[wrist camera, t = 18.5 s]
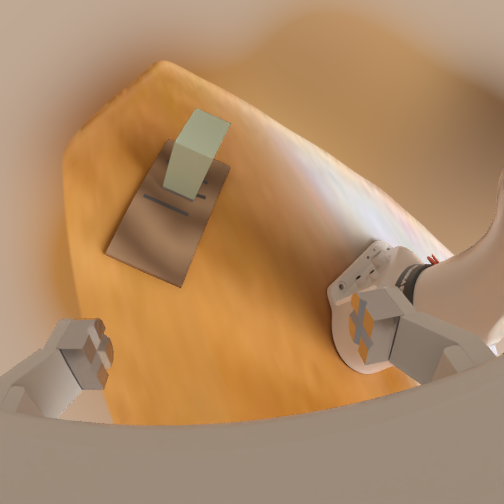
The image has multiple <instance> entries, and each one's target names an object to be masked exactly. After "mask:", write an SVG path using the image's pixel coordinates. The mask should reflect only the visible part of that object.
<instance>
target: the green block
mask: <svg viewBox="0 0 504 504" xmlns="http://www.w3.org/2000/svg"><path fill="white" fill-rule="evenodd" d="M230 125H231V123H229V122H227V121H224V120H222V119H220V118H218V117H216V116H213V115H211V114H209V113H207V112H204V111H202V110H200V109H197V108H196V109H195V111H194V112H193V114H192V115H191V117H190V118H189V120H188V122H187V123H186V125H185V126H184V128H183V129H182V131H181V133H180V134H179V136H178V137H177V139H176V141H175V143H174V146H173V150H172V153H171V157H170V160H169V164H168V168H167V172H166V175H165V179H164V183H163V187H162V189H165V190H167V191H169V192H171V193H174V194H176V195H178V196H180V197H183V198H185V199H187V200H189V201H192V202H193V201H194V199H195V197H196V195H197V193H198V190H199V188H200V186H201V184H202V182H203V180H204V178H205V176H206V174H207V171H208V169H209V167H210V165H211V163H212V161H213V159H214V157H215V155H216V153H217V151H218V149H219V147H220V145H221V143H222V140H223V138H224V136H225V134H226V132H227V130H228V128H229V127H230Z"/></svg>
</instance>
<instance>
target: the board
mask: <svg viewBox="0 0 504 504" xmlns="http://www.w3.org/2000/svg"><path fill="white" fill-rule="evenodd" d="M174 143H175V141H173V140H170V139H168V141H167V142H166V144H165V145H164V147H163V149H162V150H161V152H160V154H159V155H158V157H157V158H156V160H155V162H154V163H153V165H152V167H151V169H150V170H149V172H148V174H147V175H146V177H145V179H144V181H143V182H142V184H141V186H140V188H139V189H138V191H137V193H136V195H135V197H134V198H133V200H132V202H131V204H130V206H129V208H128V210H127V211H126V213H125V215H124V217H123V219H122V221H121V223H120V225H119V227H118V229H117V231H116V233H115V235H114V237H113V239H112V241H111V243H110V245H109V247H108V249H107V251H106V255H107V256H109V257H111V258H114V259H116V260H118V261H120V262H122V263H125V264H127V265H129V266H131V267H133V268H136V269H138V270H140V271H142V272H145V273H147V274H149V275H151V276H154V277H156V278H158V279H161V280H163V281H165V282H168V283H170V284H172V285H175V286H177V287H179V288H181V287H182V284H183V282H184V279H185V276H186V274H187V271H188V269H189V266H190V264H191V261H192V259H193V256H194V254H195V251H196V249H197V246H198V244H199V241H200V239H201V236H202V234H203V231H204V229H205V226H206V224H207V221H208V219H209V217H210V214H211V212H212V209H213V207H214V205H215V202H216V200H217V198H218V195H219V193H220V191H221V188H222V186H223V184H224V181H225V179H226V177H227V174H228V172H229V170H230V166H228V165H226V164H224V163H222V162H220V161H217V160H215V159H213V161H212V163H211V165H210V167H209V169H208V171H207V174H206V176H205V178H204V180H203V182H202V184H201V186H200V188H199V190H198V193H197V195H196V197H195V199H194V201H193V202H192V201H189V200H187V199H185V198H183V197H180V196H178V195H176V194H174V193H171V192H169V191H167V190H165V189H162V187H163V183H164V179H165V175H166V172H167V168H168V164H169V160H170V157H171V153H172V150H173V146H174Z"/></svg>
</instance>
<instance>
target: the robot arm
mask: <svg viewBox="0 0 504 504" xmlns="http://www.w3.org/2000/svg"><path fill="white" fill-rule="evenodd" d="M432 257H433V259H434V260H435V261H434V260H433V259H432V258H430V257H429V256H428V257H427V258H428V260H429V261H430V262H431V264H424V263H423V262H422V261H421V260H420V259H419V257H418V256H417V255H415V254H414V253H413V252H412V251H411V250H409V249H407V248H405V247H402V246H398V247H395V248H393V247H392V246H390V245H389V244H387V243H386V242H383V241H380V240H377V241H374V242H373V243H372V244H371V245H370V246H369V247H368V248H367V249H366V250H365V251H364V252H363V253H362V254H361V255H360V256H359V257H358V258H357V259H356V260H355V261H354V262H353V263H352V264H351V265H350V266H349V267H348V268H347V269H346V270H345V271H344V272H343V273H342V274H341V275H340V276H339V277H338V278H337V279H336V280H335V281H334V282H333V283H332V284H330V285H329V287H328V289H327V295H328V299H329V303H330V306H331V309H332V334H333V339H334V343H335V346H336V348H337V351H338V353H339V354H340V356H341V358H342V359H343V360H344V362H345V363H346V364H347V365H348V366H349V367H351V368H352V369H354V370H355V371H357V372H360V373H364V374H372V373H376V372H379V371H381V370H383V369H386V368H389V367H392V366H396V367H397V368H398V369H400V370H401V371H403V372H404V373H406V374H407V375H408V376H410V377H411V378H413V379H414V380H416V381H417V382H418V383H420V384H421V385H420V386H417V387H414V388H411V389H407V390H404V391H400V392H397V393H393V394H390V395H386V396H382V397H379V398H375V399H371V400H367V401H363V402H358V403H354V404H350V405H345V406H340V407H336V408H331V409H325V410H320V411H315V412H309V413H303V414H297V415H290V416H283V417H276V418H268V419H260V420H251V421H241V422H230V423H216V424H198V425H122V424H104V423H91V422H81V421H71V420H61V419H57V418H58V417H59V416H60V414H61V413H62V412H63V411H64V410H65V409H66V408H67V407H68V406H69V405H70V403H71V402H72V401H73V400H74V399H75V398H76V397H77V396H78V395H79V394H80V393H81V392H82V390H104V388H105V385H106V382H107V379H108V373H107V371H106V370H107V369H108V368H109V367H111V366H112V362H113V354H114V351H113V346H112V343H111V340H110V338H108V337H107V336H106V335H105V334H104V331H105V326H104V324H103V321H102V320H101V319H99V318H80V319H62V320H60V321H59V322H58V324H57V325H56V327H55V329H54V331H53V332H52V334H51V336H50V338H49V339H48V341H47V343H46V345H45V347H44V348H43V349H39V350H38V351H36V352H34V353H33V354H32V355H30V356H29V357H27V358H26V359H25V360H23V361H22V362H20V363H19V364H17V365H16V366H15V367H13V368H12V369H10V370H9V371H8V372H6V373H5V374H3V375H2V376H1V377H0V504H504V354H502V355H500V356H497V357H496V356H495V354H494V353H493V352H492V351H491V350H490V348H489V347H488V346H492V345H494V344H496V343H498V342H499V341H500V340H501V339H502V338H503V337H504V168H503V171H502V173H501V176H500V180H499V184H498V190H497V204H496V211H495V215H494V218H493V220H492V223H491V225H490V227H489V228H488V230H487V231H486V233H485V234H484V235H483V236H482V237H481V239H480V240H479V241H478V242H476V243H475V244H474V245H473V246H471V247H470V248H468V249H467V250H465V251H463V252H461V253H459V254H457V255H455V256H453V257H451V258H449V259H447V260H445V261H442V262H440V263H439V261H438V260H437V259H436V258H435V256H434V255H433V254H432ZM339 286H340V287H341V289H340V288H339Z"/></svg>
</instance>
